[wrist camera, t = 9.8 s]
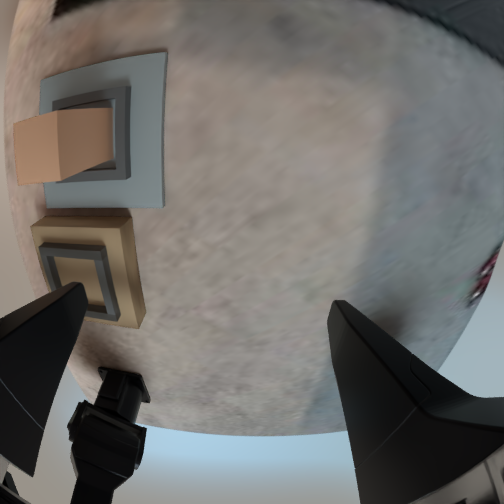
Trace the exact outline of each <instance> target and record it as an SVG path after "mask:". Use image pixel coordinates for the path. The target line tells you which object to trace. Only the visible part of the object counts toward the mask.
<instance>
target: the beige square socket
mask: <svg viewBox="0 0 504 504" xmlns="http://www.w3.org/2000/svg"><path fill="white" fill-rule="evenodd" d="M30 227H31V231H32V236H33V240H34V244H35V248H36V252H37V255H38V259H39V262H40V266H41V269H42V272H43V276H44V279H45V282H46V285H47V288H48V291H49V293H50V292H52V291H54V290H56V289H58V288H60V287H62V286H64V285H66V284H68V283H71V282H73V281H75V282H81V283H83V285H84V287H85V291H86V294H87V298H88V308H87V311H86V314H85V317H84V320H86V321H92V322H97V323H103V324H109V325H115V326H121V327H128V328H135V329H139V327H140V325H141V323H142V321H143V318H144V316H145V314H146V309H145V304H144V299H143V293H142V288H141V282H140V276H139V270H138V263H137V256H136V249H135V241H134V233H133V224H132V217H117V216H45V217H43V218H42V219H40V220H39V221H37V222H36V223H34V224H33V225H32V226H30Z"/></svg>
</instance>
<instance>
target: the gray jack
mask: <svg viewBox="0 0 504 504" xmlns="http://www.w3.org/2000/svg"><path fill="white" fill-rule="evenodd" d="M167 59H168V53H166V52H161V53H152V54H145V55H138V56H132V57H126V58H120V59H115V60H110V61H105V62H101V63H97V64H93V65H89V66H85V67H81V68H77V69H74V70H70V71H67V72H64V73H61V74H57V75H54V76H51V77H49V78H46V79H43V80H41V85H40V107H39V115H42V114H46V113H49V112H53V111H57V110H69V109H87V108H113V153H114V159H111V160H108V161H106V162H103V163H101V164H98V165H96V166H93V167H91V168H89V169H86V170H84V171H82V172H79V173H77V174H75V175H72V176H70V177H68V178H66V179H64V180H62V181H54V182H44V183H43V184H44V192H45V199H46V205H47V208H163V207H164V206H165V194H164V108H165V87H166V72H167Z"/></svg>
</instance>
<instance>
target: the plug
mask: <svg viewBox="0 0 504 504" xmlns="http://www.w3.org/2000/svg"><path fill="white" fill-rule="evenodd" d="M13 126H14V150H15V163H16V172H17V181H18V186H19V185H26V184H35V183H44V182H54V181H62V180H64V179H66V178H68V177H70V176H72V175H75V174H77V173H79V172H82V171H84V170H86V169H89V168H91V167H93V166H96V165H98V164H101V163H103V162H106V161H108V160H111V159H114V153H113V108H87V109H69V110H57V111H53V112H49V113H46V114H42V115H39V116H35V117H32V118H29V119H26V120H23V121H20V122H17V123H14V124H13Z"/></svg>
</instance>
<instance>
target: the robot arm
mask: <svg viewBox="0 0 504 504" xmlns="http://www.w3.org/2000/svg"><path fill="white" fill-rule="evenodd" d="M87 308H88V298H87V294H86V291H85V287H84V285H83V283H81V282H75V281H73V282H71V283H68V284H66V285H64V286H62V287H60V288H58V289H56V290H54V291H52V292H50V293H48V294H46V295H44V296H42V297H40V298H38V299H36V300H35V301H32V302H31V303H29V304H27V305H25V306H23V307H21V308H19V309H17V310H15V311H13V312H12V313H10V314H8V315H6V316H5V317H2V318H0V504H31V503H29V502H27V501H26V500H24V499H23V498H21V497H20V496H19V494H18V491H17V489H16V486H15V484H14V481H13V478H12V476H11V474H10V473H9V472H7V468H8V465H9V463H10V464H12V465H13V466H15V467H16V468H18V469H19V470H21V471H23V472H24V473H26V474H28V475H29V476H31V477H33V475H34V472H35V467H36V462H37V457H38V453H39V449H40V445H41V441H42V437H43V433H44V429H45V426H46V422H47V419H48V416H49V412H50V409H51V406H52V403H53V400H54V397H55V394H56V391H57V389H58V386H59V383H60V380H61V378H62V375H63V372H64V369H65V367H66V364H67V362H68V359H69V357H70V355H71V352H72V350H73V347H74V345H75V343H76V340H77V337H78V335H79V332H80V329H81V326H82V323H83V320H84V317H85V314H86V311H87ZM327 326H328V334H329V341H330V350H331V358H332V364H333V368H334V372H335V376H336V381H337V385H338V389H339V394H340V398H341V402H342V407H343V412H344V416H345V421H346V426H347V431H348V435H349V440H350V445H351V451H352V456H353V461H354V466H355V468H356V469H355V473H356V479H357V485H358V491H359V497H360V503H361V504H504V397H494V398H481V397H476V396H473V395H470V394H469V393H467V392H465V391H464V390H462V389H461V388H459V387H458V386H457V385H455V384H454V383H452V382H451V381H449V380H448V379H446V378H445V377H443V376H442V375H440V374H439V373H438V372H436V371H435V370H433V369H432V368H430V367H429V366H428V365H427V364H425V363H424V362H423V361H421V360H420V359H419V358H418V357H416V356H415V355H414V354H412V353H411V352H410V351H409V350H408V349H406V348H405V347H404V346H403V345H401V344H400V343H399V342H398V341H396V340H395V339H394V338H393V337H391V336H390V335H389V334H388V333H386V332H385V331H384V330H382V329H381V328H380V327H379V326H377V325H376V324H375V323H374V322H372V321H371V320H370V319H368V318H367V317H366V316H365V315H363V314H362V313H361V312H360V311H358V310H357V309H356V308H354V307H353V306H352V305H351V304H349V303H348V302H347V301H345V300H334V301H333V303H332V305H331V309H330V312H329V316H328V320H327ZM98 372H99V374H100V376H101V378H102V380H103V382H102V385H101V387H100V389H99V392H98V395H97V398H96V400H95V403H94V405H93V404H91V403H89V402H88V401H86V400H84V402H82V403H81V402H79V403H78V405H77V407H76V410H75V412H74V414H73V416H72V417H71V419H70V421H69V423H68V425H67V428H68V430H69V435H70V436H69V440H70V441H71V442H73V444H72V447H71V457H70V458H71V462H72V465H73V469H74V472H75V475H76V478H77V480H76V484H75V488H74V491H73V495H72V499H71V503H70V504H111V503H112V498H113V493H114V490H115V489H117V488H118V487H119V486H120V485H122V484H123V483H124V482H125V481H126V480H127V479H129V478H130V477H131V476H132V475H133V472H134V469H136V470H137V469H138V467H139V465H140V463H141V460H142V456H143V452H144V444H145V437H146V431H147V428H145V427H141V426H138V425H136V424H135V422H136V418H137V415H138V411H139V408H140V404H141V402H144V403H150V397H149V395H148V392H147V389H146V387H145V384H144V381H143V379H142V377H141V376H140V375H137V374H132V373H127V372H122V371H117V370H112V369H107V368H103V367H99V368H98Z"/></svg>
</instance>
